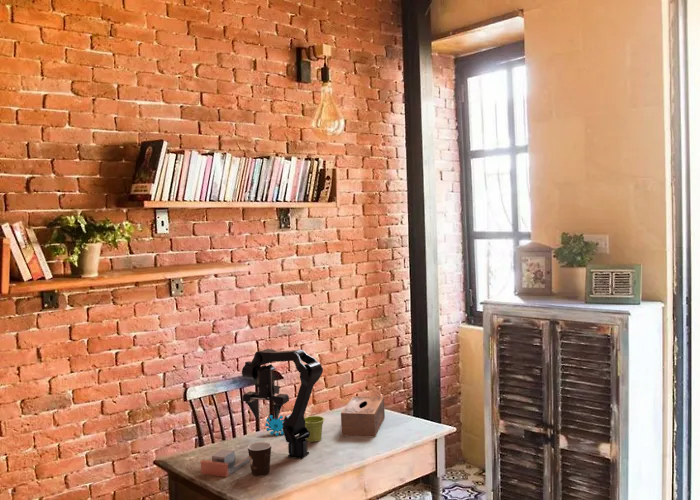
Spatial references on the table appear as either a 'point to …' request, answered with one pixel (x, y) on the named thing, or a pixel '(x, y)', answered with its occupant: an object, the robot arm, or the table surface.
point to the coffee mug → (260, 458)
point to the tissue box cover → (362, 416)
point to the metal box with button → (225, 457)
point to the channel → (220, 467)
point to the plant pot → (314, 427)
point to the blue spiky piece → (275, 425)
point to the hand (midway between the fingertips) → (266, 418)
